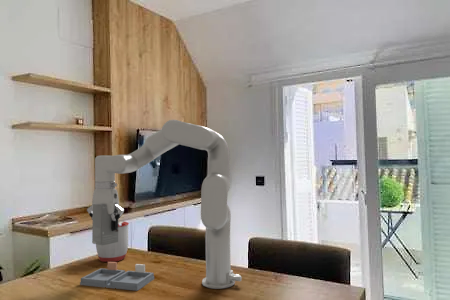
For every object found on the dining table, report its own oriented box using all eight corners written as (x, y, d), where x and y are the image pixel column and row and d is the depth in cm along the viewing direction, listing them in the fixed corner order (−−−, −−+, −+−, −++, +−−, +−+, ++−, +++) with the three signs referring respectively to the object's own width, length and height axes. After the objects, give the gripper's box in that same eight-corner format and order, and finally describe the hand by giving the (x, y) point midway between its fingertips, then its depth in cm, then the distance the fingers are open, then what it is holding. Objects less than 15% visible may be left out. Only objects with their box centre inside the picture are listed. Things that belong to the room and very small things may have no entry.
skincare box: (101, 246, 136) (101, 205, 136) (90, 243, 140) (91, 203, 140) (119, 242, 143) (120, 203, 143) (108, 239, 147) (109, 201, 147)
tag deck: (154, 278, 141) (154, 265, 141) (137, 290, 129) (137, 275, 129) (100, 274, 148) (100, 260, 148) (79, 284, 136) (79, 270, 136)
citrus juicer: (135, 254, 179) (134, 214, 180) (121, 264, 162) (121, 220, 162) (105, 253, 181) (105, 214, 181) (89, 263, 163) (88, 220, 164)
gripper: (129, 185, 143) (129, 229, 142) (92, 185, 148) (93, 227, 147) (118, 187, 136) (118, 232, 135) (80, 186, 141) (80, 230, 140)
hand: (105, 229), depth 141 cm, fingers closed on skincare box, 7 cm apart
